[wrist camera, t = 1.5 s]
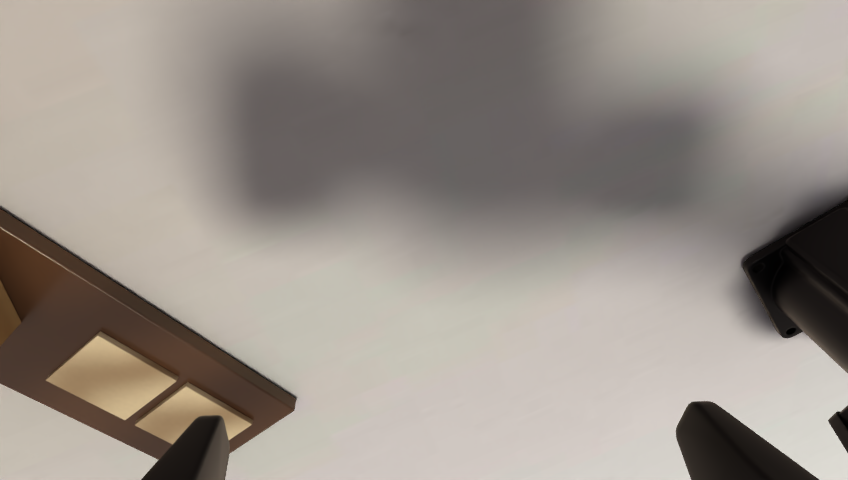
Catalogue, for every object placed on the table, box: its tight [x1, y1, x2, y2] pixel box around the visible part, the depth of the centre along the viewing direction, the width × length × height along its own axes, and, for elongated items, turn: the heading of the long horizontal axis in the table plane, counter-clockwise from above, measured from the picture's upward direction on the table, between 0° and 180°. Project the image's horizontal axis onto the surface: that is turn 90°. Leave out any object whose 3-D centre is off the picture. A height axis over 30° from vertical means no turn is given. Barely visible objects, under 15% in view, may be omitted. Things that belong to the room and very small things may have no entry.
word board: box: [0, 209, 296, 460], centre depth 22 cm, size 20×8×1 cm, turn 39°
